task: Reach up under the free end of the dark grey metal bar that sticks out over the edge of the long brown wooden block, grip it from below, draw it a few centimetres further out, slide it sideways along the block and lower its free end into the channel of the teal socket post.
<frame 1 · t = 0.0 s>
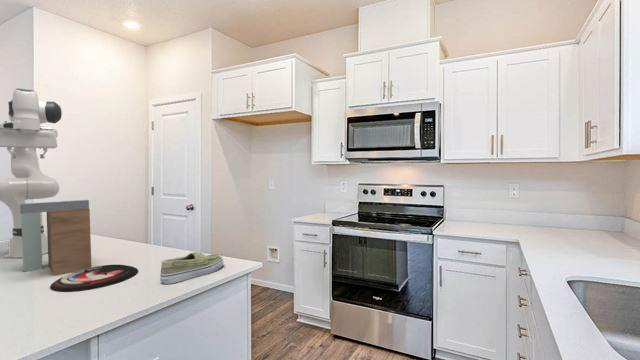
hand: (28, 158, 145), 48 cm above the counter, tool pointing down, fingers open, 8 cm apart
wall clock: (97, 279, 132), on the counter
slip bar: (56, 210, 137), point 26 cm above the counter, touching brown wooden block
boat shoe: (195, 275, 136), on the counter
socket post: (32, 268, 145), on the counter
brown wooden block: (69, 266, 147), on the counter
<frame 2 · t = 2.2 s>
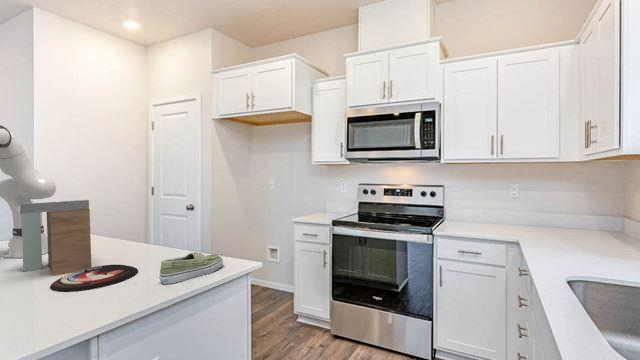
nothing on the counter moved.
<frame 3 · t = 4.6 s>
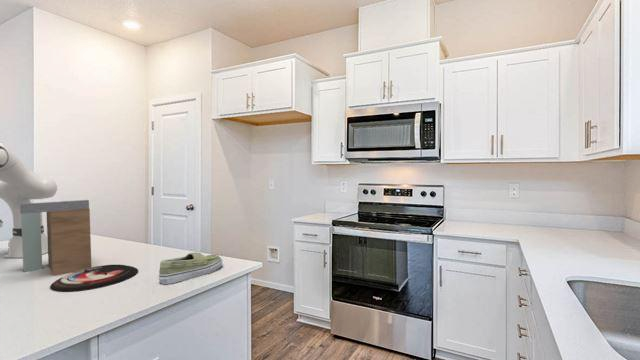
hand: (1, 222, 126), 23 cm above the counter, tool pointing upward, fingers open, 8 cm apart
nothing on the counter moved.
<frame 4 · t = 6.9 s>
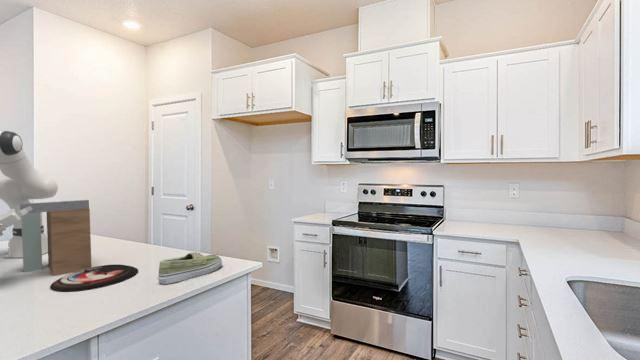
hand: (31, 206, 132), 28 cm above the counter, tool pointing upward, fingers closed on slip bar, 4 cm apart
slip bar: (56, 210, 137), point 26 cm above the counter, touching gripper, brown wooden block
everything else where it was.
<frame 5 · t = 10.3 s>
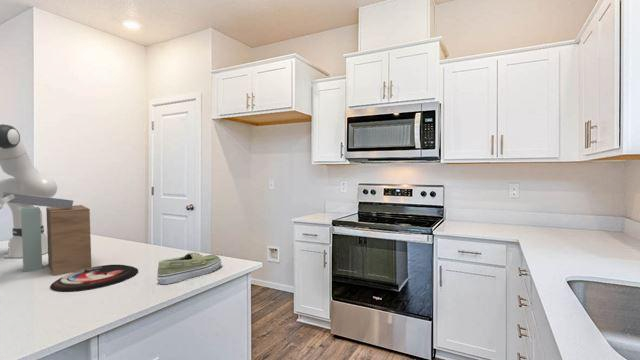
hand: (13, 195, 132), 33 cm above the counter, tool pointing upward, fingers closed on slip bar, 4 cm apart
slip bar: (38, 205, 137), point 28 cm above the counter, tilted 12°, touching gripper
everything else where it was.
when the fingers open (29 cm above the counter, at t = 13.4 s): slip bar stays where it is, resting on brown wooden block, socket post.
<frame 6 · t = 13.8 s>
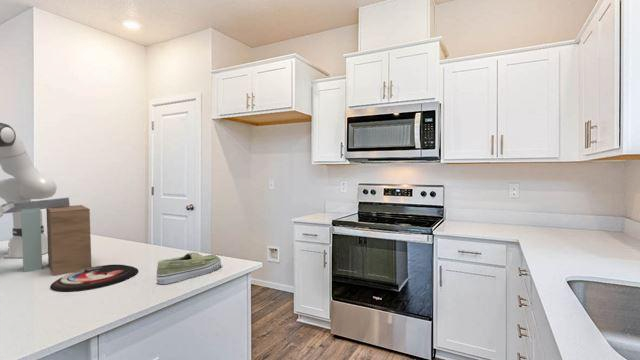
hand: (13, 203, 140), 29 cm above the counter, tool pointing upward, fingers open, 8 cm apart
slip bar: (38, 209, 145), point 26 cm above the counter, touching brown wooden block, socket post
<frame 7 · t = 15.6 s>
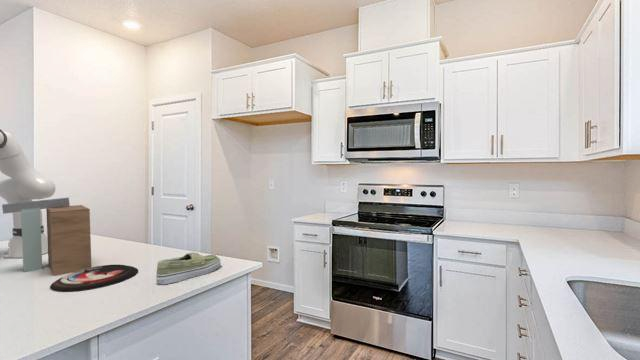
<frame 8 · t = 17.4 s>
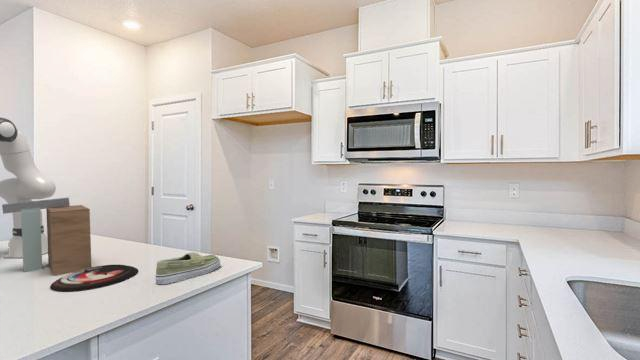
at the end: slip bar inside the target area on the socket post (0.7 cm from its centre), point 25.8 cm above the socket post's base; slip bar touching brown wooden block, socket post; the gripper is holding nothing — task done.
